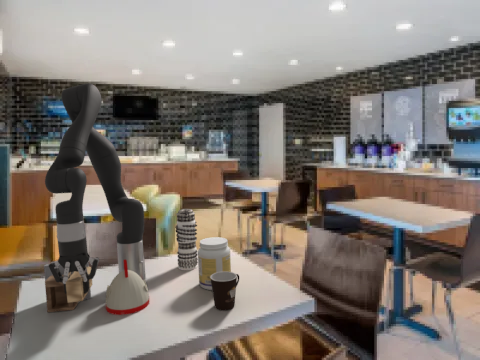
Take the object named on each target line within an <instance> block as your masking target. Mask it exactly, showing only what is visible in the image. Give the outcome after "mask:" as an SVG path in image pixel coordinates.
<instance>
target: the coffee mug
mask: <svg viewBox="0 0 480 360" xmlns="http://www.w3.org/2000/svg"><path fill="white" fill-rule="evenodd" d="M210 278H211V285H212V290H211V291H212V297H213V303H214V304H213V305H214V308H215V309H216V310H217V311H218V310H219V311H230V310H232V309H234V308H235V306H236V304H235V302H236V293H237V292H236V291H237V287H238V285H239V282H240V275H239V274H238V273H235V272H233V271H231V272H217V273H214V274H212V275H211V276H210Z"/></svg>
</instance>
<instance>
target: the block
mask: <svg viewBox="0 0 480 360" xmlns="http://www.w3.org/2000/svg"><path fill="white" fill-rule="evenodd" d="M71 275H72V274H70V276H71ZM62 276H63V275H62ZM63 277H64V276H63ZM44 286H45V298H46V309H47V313H53V312H54V313H55V312H67V311H74V310H75V309H76V307H77V306H78V304H79V301H78V302H68V301H67V294H65V292H64V284H63V283H62V282H56V280H55V278H54V276H50V277H49V278H48V279H47V280H46V281H44Z"/></svg>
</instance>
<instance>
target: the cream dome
mask: <svg viewBox="0 0 480 360" xmlns="http://www.w3.org/2000/svg"><path fill="white" fill-rule="evenodd" d="M146 281H147V280H146ZM146 281H145V280H142V279H141V277H140V276H139V275H138V274H137V273H135V272H133V271H131V270H128V268H127V260H124V271H122V272H120V273H119V272H118V273H117V274H116V275H115V277H114V278H113V279H112V280H111V282H110V284H109V285H107V287H106V292H105V293H106V294H105V310H106V312H107V313H109V314H112V315H116V316H117V315H120V316H122V315H124V316H125V315H131V314H135V313H138V312H140V311H142V310H145V309H146V308H147V307H148V306H149V305H150V294H149V289H148V285H147V282H146Z"/></svg>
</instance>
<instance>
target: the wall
mask: <svg viewBox="0 0 480 360" xmlns="http://www.w3.org/2000/svg"><path fill="white" fill-rule="evenodd" d="M89 263H90V261H88V262H87V264H86V265H85V266H86V267H90V265H89ZM49 264H50V263H47V264H44V265H43V270H44V280H45V281H46V280H47V279H48V278H49V277H50V276H53V274H52V272H51V270H50V268H49ZM58 268H59V270H60V272H61V274H62V275H64V270H65V269H64V268H63V267H62V266H61V265H60V264H59V267H58ZM73 273H74V271H73V272H71V274H73ZM45 281H44V282H45ZM91 290H92V289H91V288H90V289H89V291H88V293H87V294H86V296H85V298H84V299H83V301H84V300H90V299H91V298H92V293H91V292H92V291H91Z"/></svg>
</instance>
